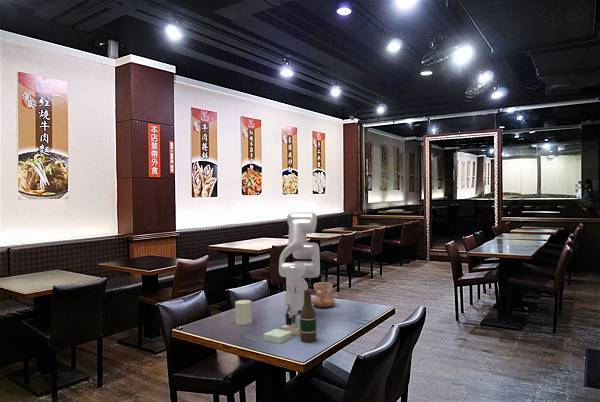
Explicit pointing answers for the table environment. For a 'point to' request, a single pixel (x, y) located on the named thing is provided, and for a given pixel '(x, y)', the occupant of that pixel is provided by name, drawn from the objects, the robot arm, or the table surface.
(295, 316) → the housing
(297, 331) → the stand
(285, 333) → the stand
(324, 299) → the ceramic jug
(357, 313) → the table surface
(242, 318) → the can
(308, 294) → the beer bottle
